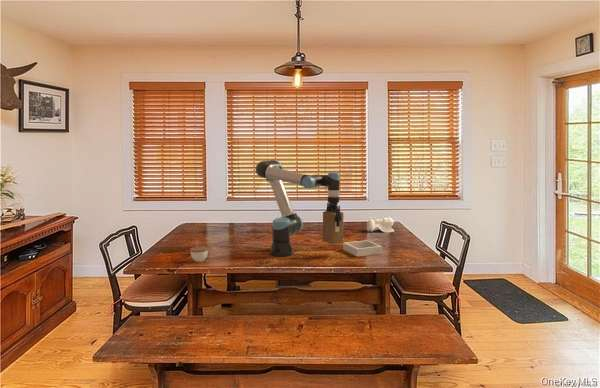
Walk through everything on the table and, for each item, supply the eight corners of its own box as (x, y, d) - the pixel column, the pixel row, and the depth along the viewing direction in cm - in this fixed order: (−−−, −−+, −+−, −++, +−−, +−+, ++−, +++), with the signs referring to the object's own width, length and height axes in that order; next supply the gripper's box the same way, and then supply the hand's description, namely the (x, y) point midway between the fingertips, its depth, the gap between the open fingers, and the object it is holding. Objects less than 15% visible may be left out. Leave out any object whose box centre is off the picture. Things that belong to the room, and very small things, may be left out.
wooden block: (321, 241, 263) (322, 211, 261) (333, 239, 269) (333, 209, 267) (331, 244, 255) (332, 213, 253) (343, 242, 261) (344, 212, 259)
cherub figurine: (367, 217, 343) (391, 215, 342) (369, 231, 344) (392, 229, 343) (370, 219, 330) (394, 217, 329) (371, 234, 331) (396, 232, 330)
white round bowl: (189, 259, 255) (188, 244, 254) (206, 257, 259) (205, 243, 258) (192, 263, 245) (191, 248, 244) (209, 261, 250) (209, 246, 249)
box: (343, 249, 277) (343, 242, 276) (366, 247, 284) (367, 240, 283) (357, 256, 259) (357, 249, 258) (382, 253, 266) (382, 246, 266)
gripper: (347, 198, 249) (346, 232, 252) (330, 193, 271) (330, 225, 274) (336, 198, 246) (335, 233, 249) (320, 194, 268) (320, 226, 271)
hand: (332, 229), depth 261 cm, fingers closed on wooden block, 11 cm apart
